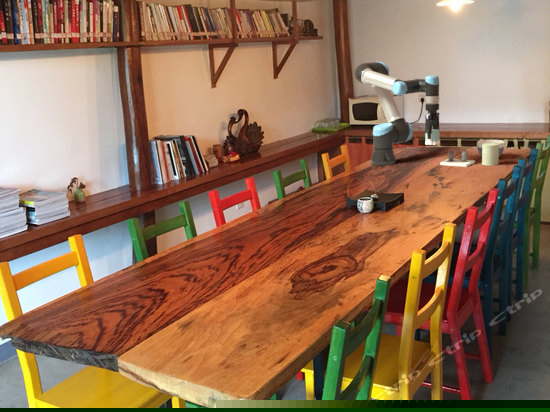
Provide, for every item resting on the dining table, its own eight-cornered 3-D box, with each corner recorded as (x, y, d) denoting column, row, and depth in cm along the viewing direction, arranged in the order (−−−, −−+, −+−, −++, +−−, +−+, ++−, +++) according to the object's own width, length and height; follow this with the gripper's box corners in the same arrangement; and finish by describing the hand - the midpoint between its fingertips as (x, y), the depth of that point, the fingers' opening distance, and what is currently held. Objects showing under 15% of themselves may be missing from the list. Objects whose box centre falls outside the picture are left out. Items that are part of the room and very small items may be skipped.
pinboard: (440, 164, 370) (440, 152, 368) (448, 161, 379) (448, 148, 377) (466, 166, 360) (466, 153, 358) (474, 162, 369) (475, 150, 367)
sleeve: (425, 144, 368) (425, 130, 366) (430, 142, 372) (429, 129, 370) (435, 145, 364) (434, 131, 362) (439, 143, 368) (439, 129, 366)
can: (499, 165, 358) (500, 144, 355) (482, 165, 360) (483, 144, 357) (497, 162, 367) (498, 141, 364) (480, 162, 369) (481, 142, 366)
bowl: (508, 159, 373) (508, 143, 371) (481, 160, 374) (481, 144, 371) (499, 154, 389) (499, 139, 386) (473, 156, 389) (473, 140, 387)
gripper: (430, 105, 353) (431, 146, 359) (445, 101, 367) (445, 141, 373) (418, 105, 357) (418, 145, 363) (433, 101, 371) (433, 140, 377)
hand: (432, 143), depth 368 cm, fingers closed on sleeve, 6 cm apart
